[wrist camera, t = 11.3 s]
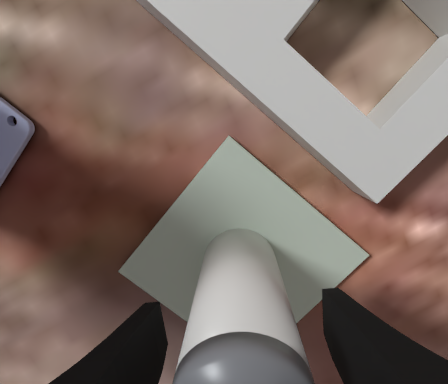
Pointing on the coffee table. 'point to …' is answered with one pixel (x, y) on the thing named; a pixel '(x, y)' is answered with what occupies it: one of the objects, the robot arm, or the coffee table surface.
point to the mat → (241, 219)
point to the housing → (321, 86)
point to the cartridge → (241, 319)
